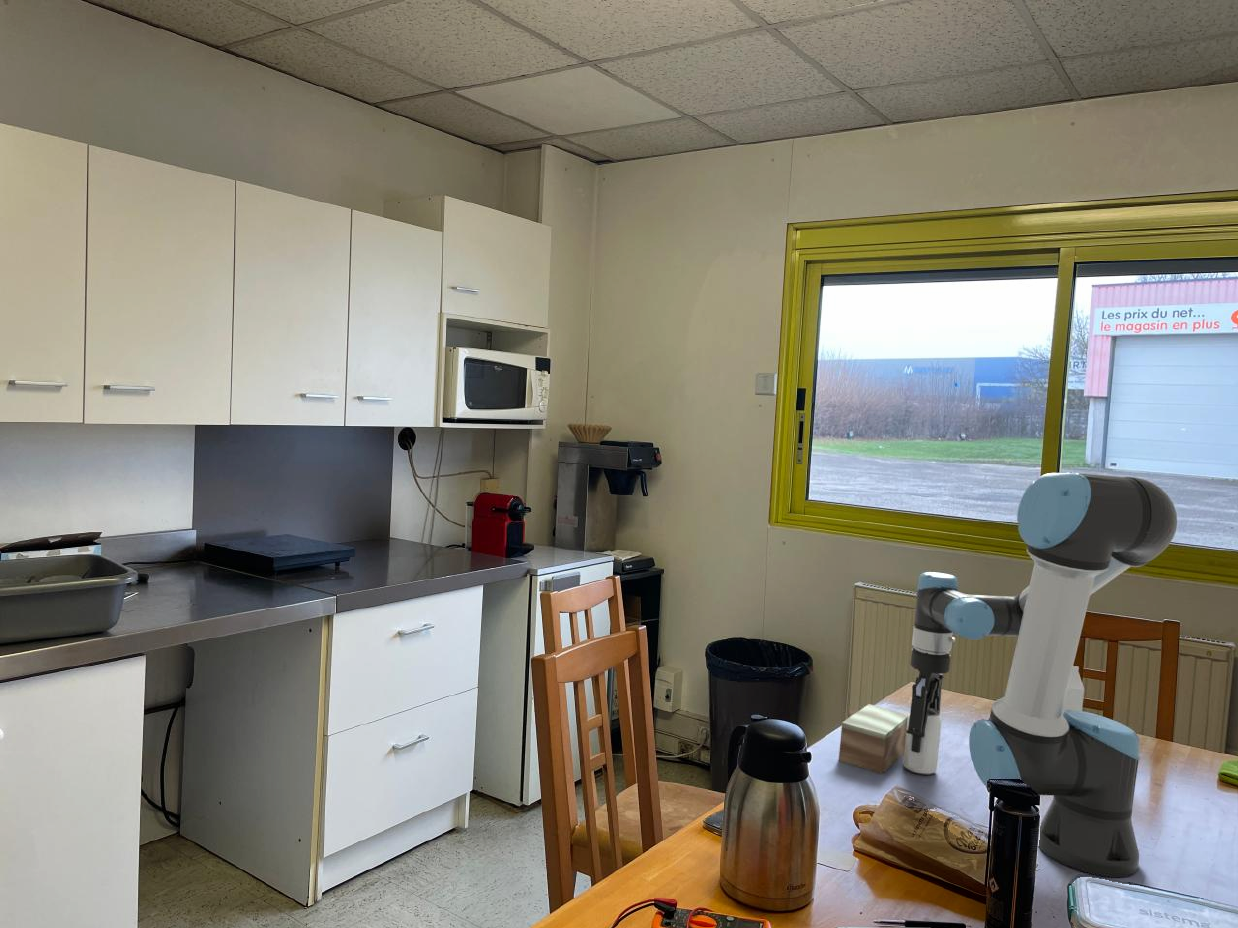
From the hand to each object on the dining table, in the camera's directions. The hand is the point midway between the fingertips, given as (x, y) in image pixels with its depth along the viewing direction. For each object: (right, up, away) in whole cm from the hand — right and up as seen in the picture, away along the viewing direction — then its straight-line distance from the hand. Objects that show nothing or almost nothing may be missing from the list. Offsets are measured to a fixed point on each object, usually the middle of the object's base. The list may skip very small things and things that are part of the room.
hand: (920, 761), depth 182 cm
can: (0, -2, 0) cm, 2 cm away
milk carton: (+36, -3, +18) cm, 40 cm away
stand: (-8, -1, +6) cm, 10 cm away
